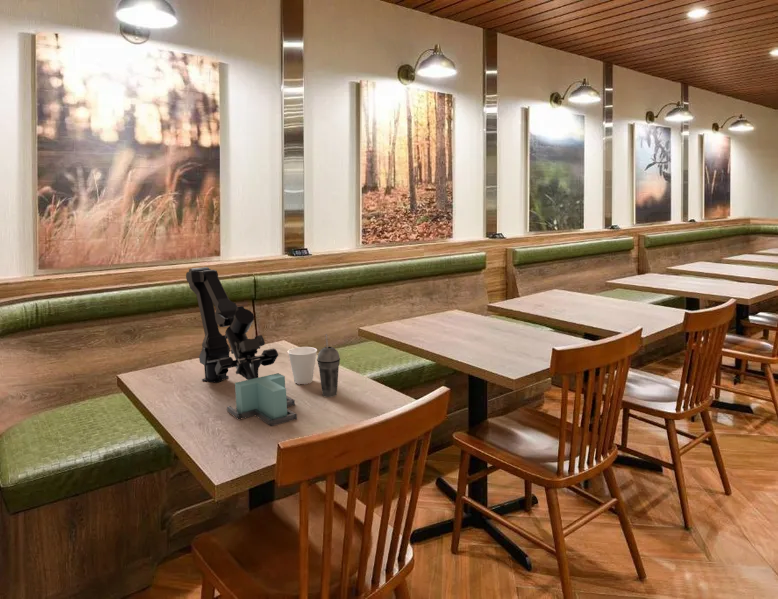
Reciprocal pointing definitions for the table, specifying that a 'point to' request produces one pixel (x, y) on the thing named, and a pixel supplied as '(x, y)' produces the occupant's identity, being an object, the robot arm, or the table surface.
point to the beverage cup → (328, 370)
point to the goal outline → (264, 417)
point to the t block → (262, 395)
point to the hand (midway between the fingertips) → (256, 385)
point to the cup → (302, 364)
